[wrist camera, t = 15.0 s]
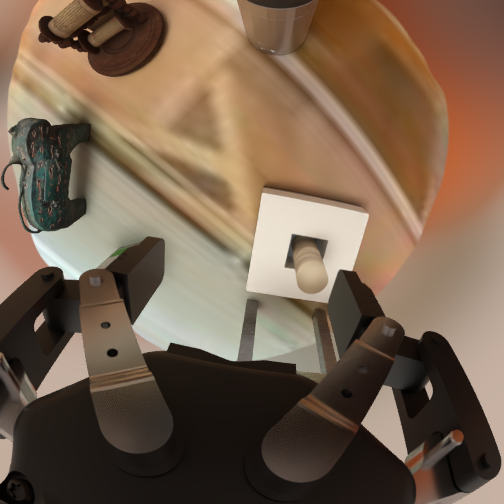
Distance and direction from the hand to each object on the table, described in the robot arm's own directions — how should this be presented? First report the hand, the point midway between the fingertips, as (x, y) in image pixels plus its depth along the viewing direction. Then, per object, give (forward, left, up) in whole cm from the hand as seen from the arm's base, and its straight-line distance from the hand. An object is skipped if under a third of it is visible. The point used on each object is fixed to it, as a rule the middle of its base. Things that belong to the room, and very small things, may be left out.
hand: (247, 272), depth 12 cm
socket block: (+10, +8, -32) cm, 35 cm away
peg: (+10, +8, -31) cm, 34 cm away
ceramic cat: (+2, -34, -32) cm, 47 cm away
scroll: (-22, -27, -32) cm, 48 cm away
